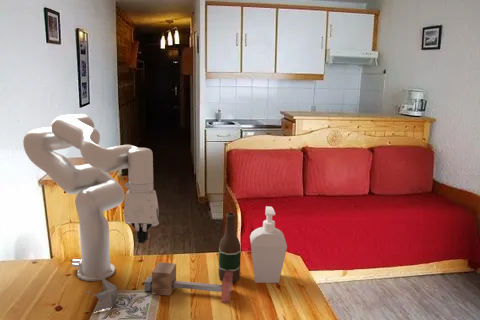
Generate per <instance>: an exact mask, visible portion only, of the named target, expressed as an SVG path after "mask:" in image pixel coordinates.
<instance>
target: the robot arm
mask: <svg viewBox="0 0 480 320" xmlns="http://www.w3.org/2000/svg"><path fill="white" fill-rule="evenodd" d="M23 137H24V138H23V141H22V142H23V143H22V144H23V149H24V151H25V154H26V156H27V157H28V159H29V160H30V161H31V163H32V164H33V165H35V166H36V167H37V168H39V169H40V170H41V171H42V172H44V173H45V174H46V175H47V176H49V178H51V179H52V180H53V182H54V183H56V184H57V185H58V186H59V187H60V188H61V189H62V190H63V191H64V192H65V193H66V194H69V195H72V196H73V195H76V196H75V200H74V204H75V205H74V206H75V209H76V213H77V217H78V223H79V235H80V237H79V238H80V254H81V255H80V257H81V258H80V259H79V258H73V259H72V261H71V267H72V268H77V269H78V270H77V278H78V279H80V280H82V281H85V282H95V281H96V282H97V281H102V278H104V279H105V280H107V278H110V277H111V276H113V275H114V273H115V271H116V267H115V265H114V264H112V263H111V250H110V249H111V248H110V247H111V246H110V245H111V244H110V243H111V242H110V226H109V221H108V219H107V218H106V216H105V215H104V212H106V211H109V210H111V209H114V208H116V207H119V206H120V205H121V204H123V202H124V205H123V206H124V209H123V216H124V217H123V218H124V222H125V224H127V225H130V226H132V227H133V228H134V230H135V231H136V236H137V238H136V239H137V240H138V244H145V243H146V242H147V240H148V239H149V237H148V236H149V233H148V232H149V229H150V228H151V227H156V226H158V225H159V224H160V222H159V221H160V220H159V203H158V197H157V192H156V190H154V167H153V166H154V162H153V161H154V157H153V156H154V155H153V151H152V149H150V148H147V147H138V146H135V145H132V144H123V145H115V146H110V147H107V148H106V147H102V146H101V145H100V144H99V143H100V140H101V134H100V132H99V130H98V129H96V128H95V122H94V120H93V119H92V118H91V117H90V116H88V115H86V114H84V113H83V114H82V113H79V114H65V115H60V116H57V117H56V118H55V119H53V121H51V125H50V126H48V127H41V128H36V129H32V130H30V131H28V132H27V133H26V134H25V135H24V136H23ZM72 147H74V148H76V149H78V150H79V151H80V155H81V157H82V158H83V160H84V162H86V163H87V164H81V165H76V164H74V163H73V162H72V161H70V160H69V159H68V158H67V157H66V156H64V155H63V154H60V153H58V152H56V151H58V150H64V149H67V148H72ZM124 169H128V170H127V171H128V172H127V173H128V176H127V177H128V182H125V183H124V187H125V188H127V189H128V190H126V192H125V191H124V188H123V186H122V185H121V184H120V183H119V182H118V181H117V180H116V179H115V178H114V177H113V176H111V174H109V173H113V172H116V171H120V170H124Z"/></svg>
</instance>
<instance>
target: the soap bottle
mask: <svg viewBox="0 0 480 320" xmlns="http://www.w3.org/2000/svg"><path fill="white" fill-rule="evenodd" d="M264 215H265V216H266V219H264V220H263V221H262V226H261V227H260V226H259V227H258V228H255V229H254V230H253V231H251V233H250V235H249V239H250V248H251V258H252V267H253V277H254V283H256V284H257V283H259V284H262V283H263V284H279V283H280V279H281V274H282V272H283V271H282V270H283V266H284V263H285V258H286V254H287V249H288V245H287V241H286V238H285V235H284V232H283V231H282V230H280V229H279V228H277V227H276V222H275V220H273V216H276V212H275V209H274V208H273V206H267V205H266V206H265V213H264Z"/></svg>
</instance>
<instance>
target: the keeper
mask: <svg viewBox="0 0 480 320" xmlns="http://www.w3.org/2000/svg"><path fill="white" fill-rule="evenodd" d="M151 276H152V291H151V294H152V293H155V294H154V295H160V296H161V295H162V296H171V294H172V293H173V291H174V289H175V288H174V287H172V281H173V280H174V281H177V263H172V262H159V261H158V262H157V264H156V266H155V267H154V269H153V270H152V272H151Z"/></svg>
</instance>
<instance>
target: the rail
mask: <svg viewBox="0 0 480 320" xmlns="http://www.w3.org/2000/svg"><path fill="white" fill-rule="evenodd" d="M232 279H233V271H230V270H226V271H225V274H224V277H223V280H222V281H221V284H215V283H207V282H206V283H204V282H195V281H194V282H193V281H184V280H182V281H181V280H176V281H174V280H173V281H172V287H174V289H187V290H195V291H196V290H198V291H206V292H207V291H208V292H217V293H221V299H220V300H221V301H220V302H221V303H223V304H224V303H225V304H226V303H227V304H229V303H230V300H231V296H232V292H233V282H232ZM143 286H144V292H145V291H151V290H152V275H148V276H147V278H146V279H145V280H144V285H143ZM151 292H152V291H151Z"/></svg>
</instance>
